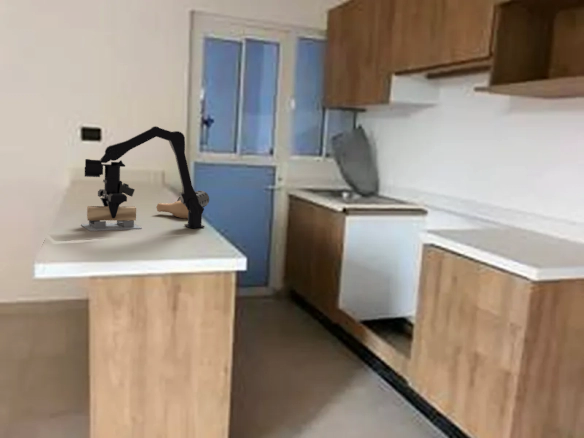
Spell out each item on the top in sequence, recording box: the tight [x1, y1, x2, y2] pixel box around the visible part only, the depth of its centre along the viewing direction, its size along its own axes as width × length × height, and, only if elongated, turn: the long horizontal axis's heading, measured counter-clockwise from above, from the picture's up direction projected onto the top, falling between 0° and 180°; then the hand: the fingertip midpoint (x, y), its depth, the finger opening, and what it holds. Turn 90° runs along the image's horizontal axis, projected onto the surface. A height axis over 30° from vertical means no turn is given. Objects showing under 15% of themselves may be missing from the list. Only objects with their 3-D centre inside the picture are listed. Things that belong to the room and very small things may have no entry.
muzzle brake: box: [176, 190, 210, 208], centre depth 268 cm, size 10×28×10 cm, turn 174°
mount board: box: [80, 220, 143, 232], centre depth 216 cm, size 13×20×3 cm, turn 125°
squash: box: [156, 201, 188, 219], centre depth 250 cm, size 11×20×9 cm, turn 75°
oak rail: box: [86, 205, 137, 222], centre depth 216 cm, size 4×18×5 cm, turn 114°
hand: (111, 217), depth 216 cm, fingers closed on oak rail, 5 cm apart
